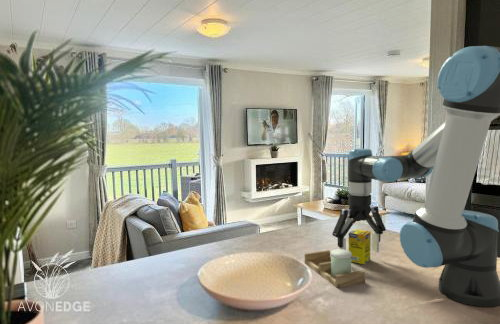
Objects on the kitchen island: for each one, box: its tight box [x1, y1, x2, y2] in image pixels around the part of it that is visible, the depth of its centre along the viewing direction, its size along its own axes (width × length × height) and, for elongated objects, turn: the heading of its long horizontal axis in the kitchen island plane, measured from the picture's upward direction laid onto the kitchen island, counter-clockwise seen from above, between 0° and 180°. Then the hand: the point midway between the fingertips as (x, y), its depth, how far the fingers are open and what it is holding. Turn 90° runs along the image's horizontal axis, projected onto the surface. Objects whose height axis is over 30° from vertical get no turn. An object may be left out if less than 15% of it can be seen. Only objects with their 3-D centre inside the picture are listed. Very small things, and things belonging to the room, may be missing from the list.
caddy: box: [304, 249, 366, 289], centre depth 108 cm, size 20×10×4 cm, turn 18°
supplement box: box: [348, 228, 372, 266], centre depth 117 cm, size 6×6×11 cm
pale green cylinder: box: [330, 248, 352, 279], centre depth 103 cm, size 6×6×8 cm
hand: (359, 253), depth 117 cm, fingers open, 13 cm apart
